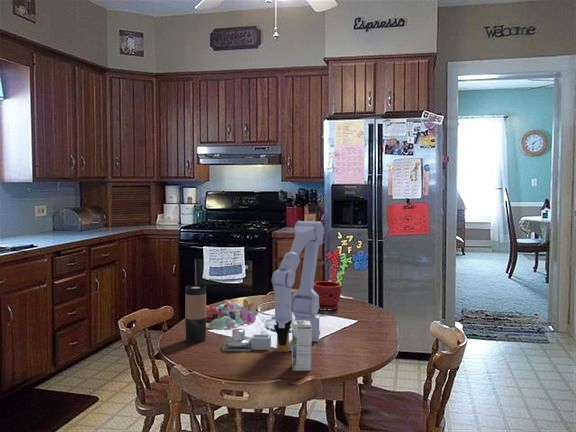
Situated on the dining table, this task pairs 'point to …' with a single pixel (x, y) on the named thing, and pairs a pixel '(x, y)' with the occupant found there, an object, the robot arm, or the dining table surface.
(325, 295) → the plant pot
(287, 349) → the wedge
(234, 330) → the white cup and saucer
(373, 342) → the dining table surface
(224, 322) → the candy landscape model
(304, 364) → the syrup box
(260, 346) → the bracket head
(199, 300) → the travel mug
